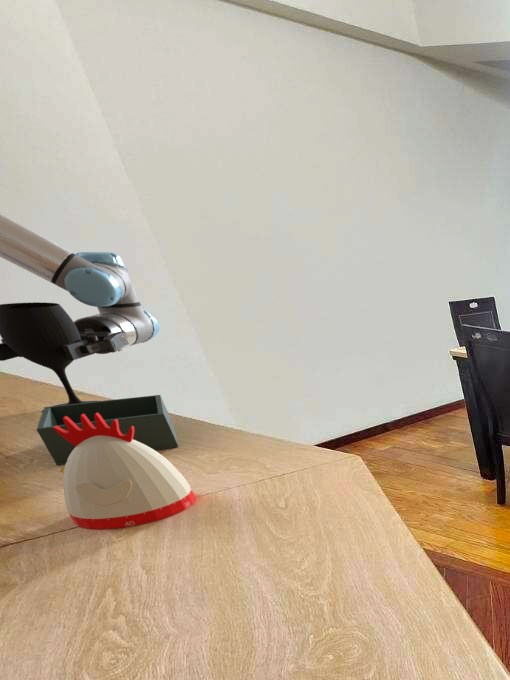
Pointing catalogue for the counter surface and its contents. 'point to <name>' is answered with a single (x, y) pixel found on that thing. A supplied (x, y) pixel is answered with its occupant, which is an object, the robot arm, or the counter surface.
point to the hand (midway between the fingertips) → (32, 353)
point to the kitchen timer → (118, 478)
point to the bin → (110, 423)
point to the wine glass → (41, 336)
